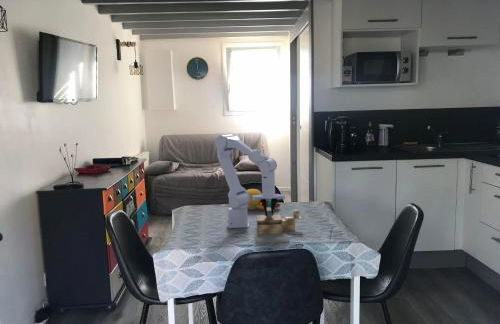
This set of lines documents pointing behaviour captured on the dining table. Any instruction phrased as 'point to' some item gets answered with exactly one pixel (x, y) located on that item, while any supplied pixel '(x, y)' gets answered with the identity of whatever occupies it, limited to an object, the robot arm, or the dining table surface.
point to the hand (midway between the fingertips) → (269, 215)
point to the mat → (272, 238)
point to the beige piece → (294, 215)
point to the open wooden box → (276, 227)
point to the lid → (269, 217)
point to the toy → (257, 203)
